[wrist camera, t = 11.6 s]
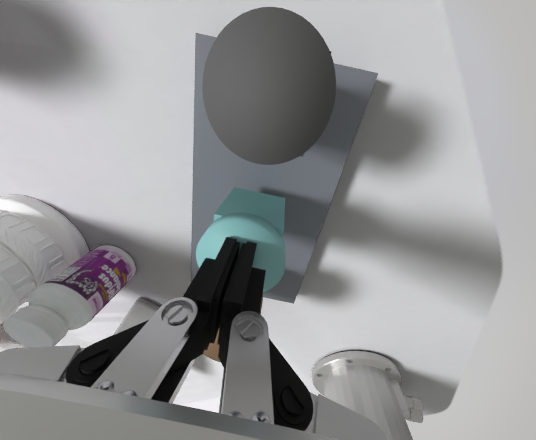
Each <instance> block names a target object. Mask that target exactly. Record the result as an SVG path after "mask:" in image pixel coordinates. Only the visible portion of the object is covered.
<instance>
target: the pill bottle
mask: <svg viewBox="0 0 536 440" xmlns="http://www.w3.org/2000/svg"><path fill="white" fill-rule="evenodd" d="M135 272H136V267H135V263H134V261H133V259H132V258H131V256H130V255H129V254H128V253H126V252H125V251H124V250H122V249H120V248H118V247H115V246H110V245H103V246H99V247H97V248H95V249H94V250H92V251H91V252H89V253H88V254H86V255H85V256H83V257H82V258H80V259H79V260H77V261H76V262H74V263H73V264H71V265H70V266H69V267H67V268H66V269H64V270H63V271H61V272H60V273H58V274H57V275H55V276H54V277H52V278H51V279H49V280H48V281H46V282H45V283H43V284H42V285H40V286H39V287H38V288H36V289H35V290H34V291H33V292H32V294H31V296H30V298H29V306H26V307H24V308H21V309H19V310H18V311H17V312H16V313H14V314H13V315H12V316H11V317H9V318H8V319H7V320H5V321H4V323H3V328H4V330H5V331H6V333H7V334H8V335H9V336H10V337H11V338H13V339H14V340H15V341H17V342H19V343H20V344H22V345H24V346H27V347H53V346H55V345H56V344H57V343H58V342H59V341H60V340H61V339H62V338H63V337H64V336H65V335H66V333H67V332H68V330H73V329H77V328H80V327H82V326H84V325H86V324H87V323H88V322H89V321H91V320H92V319H93V317H94V316H95V315H96V314H97V313H98V312H99V311H100V310H101V309H102V308H103V307H104V306H105V305H106V304H107V303H108V302H109V301H110V300H111V299H112V298H113V297H114V296H115V295H116V294H117V293H118V292H119V291H120V290H121V289H122V288H123V287H124V286H125V285H126V284H127V283H128V282H129V281H130V280H131V278H132V277H133V276H134V274H135Z"/></svg>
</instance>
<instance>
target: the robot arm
mask: <svg viewBox="0 0 536 440" xmlns="http://www.w3.org/2000/svg"><path fill="white" fill-rule="evenodd" d="M239 246H240V242H237V239H235V238H230V237H226V239H225V241H224V243H223V245H222V247H221V249H220V251H219V253H218V255H217V257H216V259H211V258H205V260H204V261H203V263H202V265H201V267H200V268H199V270H198V272H197V274H196V275H195V277H194V279H193V280H192V282H191V284H190V286H189V287H188V289H187V291H186V293H185V294H184V296H183V297H177V298H173V299H171V300H169V301H167V302H165V303H164V304H163V305H162V306H161V307H160V308H159V309H158V310H157V311H156V313H155V314H154V315H153V316H152V317H151V318H150V319H149V320H147V321H145V322H142V323H140V324H138V325H136V326H133V327H131V328H129V329H126V330H124V331H122V332H119V333H117V334H115V335H113V336H110V337H108V338H106V339H103V340H101V341H99V342H96V343H94V344H92V345H90V346H89V347H87V348H80V345H79V346H54V347H29V348H14V349H8V350H5V351H2V352H0V440H413V439H412V436H411V433H410V431H409V428H408V425H407V423H406V420H405V419H407V420H409V421H413V422H418V423H421V422H422V421H423V414H422V410H423V404H422V402H421V400H420V399H419V398H416V397H412V396H405V395H404V394H403V393H402V391H401V389H400V385H401V375H400V373H399V371H398V368H397V367H396V365H395V364H394V363H393V362H392V361H390V360H389V359H387V358H385V357H384V356H381V355H378V354H376V353H371V352H366V351H345V352H339V353H335V354H332V355H329V356H327V357H325V358H323V359H322V360H320V361H319V362H318V363H317V364H316V365H315V367H314V368H313V371H312V380H313V385H314V386H315V388H316V389H317V390H318V391H319V392H320V393H321V394H323V395H324V396H325V397H324V396H322V395H320V394H319V395H318V396H316V395H314V394H312V393H310V392H309V391H308V389H307V388H306V386H305V385H304V383H303V382H302V381H301V380H300V378H299V377H298V376H297V374H296V373H295V372H294V370H293V369H292V368H291V366H290V365H289V364H288V362H287V361H286V360H285V359H284V357H283V356H282V355H281V353H280V352H279V351H278V349H277V348H276V347H275V345H274V344H273V343H272V342H271V340H270V339H269V335H268V326H267V322H266V321H265V319H264V318H263V317H262V316H261V315H260V308H261V301H262V294H263V287H264V280H265V273H266V270H263V269H259V268H254V267H252V266H253V261H254V256H255V251H256V246H257V243H254V242H249V241H247V243H243V244H242V247H241V250H240V252H239ZM238 253H239V255H238ZM218 330H219V335H218V343H217V344H218V345H219V353H218V358H219V359H220V361H221V363H222V365H223V367H224V372H223V380H222V389H221V398H220V406H219V413H216V412H211V411H206V410H201V409H196V408H191V407H186V406H181V405H176V404H172V403H173V401H174V399H175V397H176V395H177V394H178V392H179V390H180V388H181V386H182V384H183V382H184V380H185V378H186V377H187V375H188V373H189V371H190V369H191V367H192V365H193V363H194V360H195V358H197V357H198V356H200V355H202V354H203V353H204V350H208V347H209V344H210V343H213V344H214V342H215V339H216V336H217V333H218Z"/></svg>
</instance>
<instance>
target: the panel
mask: <svg viewBox="0 0 536 440" xmlns="http://www.w3.org/2000/svg"><path fill="white" fill-rule="evenodd" d="M215 40H216V37H212V36H207V35H203V34H198V33H196V46H195V98H194V150H193V201H192V253H191V282H192V280H193V279H194V277H195V275H196V274H197V272H198V270H199V266H198V264H197V260H196V249H197V245H198V243H199V241H200V239H201V238H202V236H203V235H204V233H205V232H206V231H207V229H208V228H209V226H210V225H211V224H212V223H213V222H214V214H215V212H216V211H217V210H218V208H219V207H220V206H221V204H222V203H223V202H224V200H225V199H226V198H227V196H228V195H229V194H230V192H231V191H232V190H233V188H234V187H236V188H241V189H245V190H250V191H255V192H259V193H264V194H269V195H273V196H278V197H283V198H285V218H284V231H283V235H282V237H283V240H284V243H285V248H286V261H285V271H284V274H283V276H282V278H281V280H280V281H279V282H278V283H277V284H276V285H275V286H274V287H273V288H271V289H270V290H268V291H266V292H264V293H263V297H265V298H270V299H275V300H280V301H284V302H289V303H294V301H295V299H296V296H297V293H298V290H299V288H300V285H301V282H302V279H303V277H304V274H305V271H306V269H307V266H308V263H309V260H310V258H311V255H312V252H313V249H314V247H315V244H316V241H317V239H318V236H319V233H320V230H321V228H322V225H323V222H324V220H325V217H326V214H327V211H328V209H329V206H330V203H331V200H332V198H333V195H334V192H335V190H336V187H337V184H338V181H339V179H340V176H341V173H342V170H343V168H344V165H345V162H346V160H347V157H348V154H349V151H350V149H351V146H352V143H353V140H354V138H355V135H356V132H357V130H358V127H359V124H360V121H361V119H362V116H363V113H364V111H365V108H366V105H367V102H368V100H369V97H370V94H371V91H372V89H373V86H374V83H375V81H376V78H377V75H378V73H374V72H370V71H365V70H361V69H356V68H352V67H347V66H343V65H338V64H334V63H333V64H334V68H335V75H336V96H335V103H334V107H333V111H332V114H331V117H330V120H329V122H328V124H327V126H326V128H325V130H324V132H323V133H322V135H321V136H320V138H319V139H318V140H317V141H316V143H315V144H314V145H313V146H312V147H311V148H310V149H309V150H307V151H306V152H305V153H304V155H303V157H302V156H299V157H297V158H295V159H293V160H291V161H288V162H285V163H281V164H275V165H262V164H256V163H252V162H249V161H247V160H245V159H242V158H241V157H239V156H237V155H235V154H234V153H233V152H232V151H230V150H229V149H228V148H227V147H226V146H225V145H224V144H223V143H222V142H221V140H220V139H219V138H218V136H217V135H216V133H215V132H214V130H213V128H212V126H211V124H210V122H209V119H208V117H207V114H206V110H205V106H204V100H203V87H202V83H203V72H204V68H205V63H206V60H207V57H208V54H209V51H210V49H211V47H212V45H213V43H214V41H215Z"/></svg>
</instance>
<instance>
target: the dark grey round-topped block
mask: <svg viewBox="0 0 536 440" xmlns="http://www.w3.org/2000/svg"><path fill="white" fill-rule="evenodd" d="M202 87H203V100H204V106H205V110H206V114H207V117H208V119H209V122H210V124H211V126H212V128H213V130H214V132H215V133H216V135H217V136H218V138H219V139H220V140H221V142H222V143H223V144H224V145H225V146H226V147H227V148H228V149H229V150H230V151H232V152H233V153H234V154H235V155H237V156H239V157H241V158H242V159H245V160H247V161H249V162H252V163H256V164H262V165H275V164H281V163H285V162H288V161H291V160H293V159H295V158H297V157H299V156H302V157H303V155H304V153H305V152H306V151H307V150H309V149H310V148H311V147H312V146H313V145H314V144H315V143H316V141H317V140H318V139H319V138H320V136H321V135H322V133H323V132H324V130H325V128H326V126H327V124H328V122H329V120H330V117H331V114H332V111H333V107H334V103H335V96H336V75H335V68H334V64H333V59H332V57H331V52H330V51H329V49H328V47H327V45H326V43H325V41H324V39H323V38H322V36H321V35H320V33H319V32H318V31H317V30H316V29H315V28H314V26H313V25H312V24H311V23H310V22H308V21H307V20H306V19H304V18H303V17H302V16H300V15H298V14H296V13H294V12H292V11H289V10H286V9H283V8H276V7H262V8H258V9H253V10H250V11H248V12H246V13H243V14H241V15H240V16H238V17H237V18H235V19H234V20H232V21H231V22H230V23H229V24H228V25H227V26H226V27H225V28H224V29H223V30H222V31H221V33H220V34H219V35H218V37H217V38H216V40H215V41H214V43H213V45H212V47H211V49H210V51H209V54H208V57H207V60H206V63H205V68H204V72H203V83H202Z"/></svg>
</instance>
